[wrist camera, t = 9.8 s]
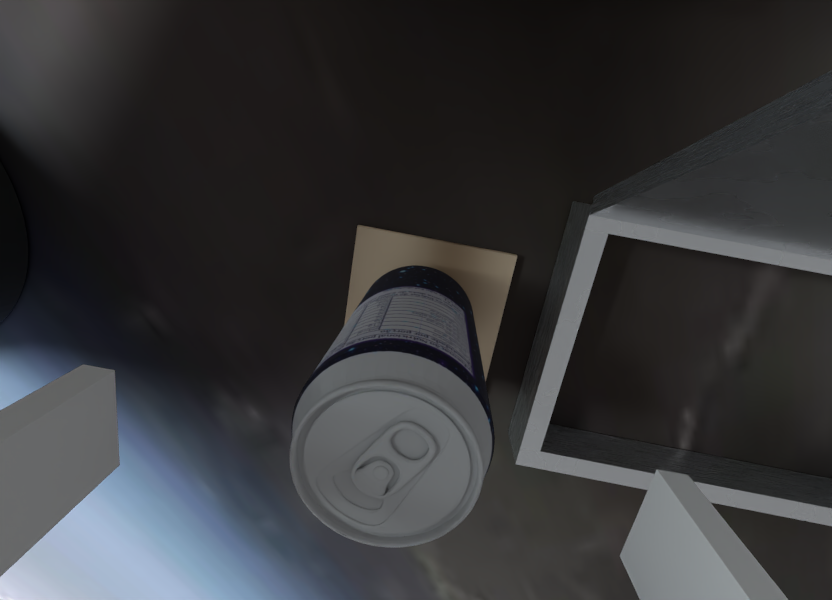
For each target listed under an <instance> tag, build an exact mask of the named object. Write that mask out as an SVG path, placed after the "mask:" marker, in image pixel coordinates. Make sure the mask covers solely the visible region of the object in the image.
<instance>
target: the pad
mask: <svg viewBox="0 0 832 600" xmlns="http://www.w3.org/2000/svg"><path fill="white" fill-rule="evenodd" d="M516 260H517V255H516V254H512V253H506V252H501V251H496V250H490V249H485V248H480V247H474V246H469V245H464V244H458V243H453V242H448V241H443V240H437V239H432V238H427V237H421V236H416V235H411V234H405V233H400V232H395V231H389V230H384V229H379V228H373V227H368V226H363V225H358V226H357V233H356V241H355V248H354V256H353V263H352V271H351V278H350V286H349V293H348V301H347V308H346V316H345V323H344V326H345V324H346V323H347V321H348V320H349V318H350V317H351V315H352V314H353V312H354V311H355V309H356V308H357V306H358V305H359V303H360V302H361V300H362V299H363V297H364V296H365V294H366V293H367V291H368V290H369V288H370V287H371V286H372V285H373V283H374V282H375V281H376V280H378V279H379V278H380V277H381V276H383V275H384V274H386V273H387V272H389V271H391V270H394V269H397V268H400V267H404V266H412V265H418V266H427V267H431V268H434V269H437V270H440V271H442V272H444V273H446V274H447V275H449V276H450V277H452V278H453V279H454V280H455V281H456V282H457V283H458V284H459V285H460V286H461V287H462V288H463V290H464V291H465V293H466V294H467V296H468V298H469V300H470V303H471V306H472V310H473V315H474V321H475V326H476V332H477V337H478V343H479V348H480V354H481V360H482V365H483V371H484V376H485V382H486V378H487V374H488V371H489V367H490V363H491V359H492V355H493V351H494V347H495V343H496V339H497V335H498V331H499V327H500V323H501V319H502V315H503V311H504V307H505V303H506V299H507V295H508V291H509V287H510V283H511V279H512V275H513V272H514V268H515V264H516Z"/></svg>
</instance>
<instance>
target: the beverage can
mask: <svg viewBox="0 0 832 600" xmlns="http://www.w3.org/2000/svg"><path fill="white" fill-rule="evenodd" d="M494 439H495V438H494V427H493V421H492V416H491V410H490V404H489V399H488V393H487V388H486V382H485V376H484V371H483V365H482V360H481V354H480V348H479V343H478V337H477V332H476V326H475V321H474V315H473V310H472V306H471V303H470V300H469V298H468V296H467V294H466V293H465V291H464V290H463V288H462V287H461V286H460V285H459V284H458V283H457V282H456V281H455V280H454V279H453V278H452V277H450V276H449V275H447V274H446V273H444V272H442V271H440V270H437V269H434V268H431V267H427V266H418V265H412V266H404V267H400V268H397V269H394V270H391V271H389V272H387V273H386V274H384V275H383V276H381V277H380V278H379V279H378V280H376V281H375V282H374V283H373V285H372V286H371V287H370V288H369V290H368V291H367V293H366V294H365V296H364V297H363V299H362V300H361V302H360V303H359V305H358V306H357V308H356V309H355V311H354V312H353V314H352V315H351V317H350V318H349V320H348V321H347V323H346V324H345V326H344V327H343V329H342V330H341V332H340V333H339V335H338V336H337V338H336V339H335V341H334V342H333V344H332V345H331V347H330V348H329V350H328V351H327V353H326V354H325V356H324V357H323V359H322V360H321V362H320V363H319V365H318V366H317V368H316V369H315V371H314V372H313V374H312V375H311V377H310V378H309V380H308V381H307V383H306V384H305V386H304V387H303V389H302V391H301V392H300V394H299V396H298V399H297V401H296V404H295V407H294V411H293V417H292V442H291V447H290V470H291V475H292V479H293V482H294V485H295V487H296V490H297V492H298V494H299V495H300V497H301V499H302V500H303V502H304V504H305V505H306V506H307V507H308V509H309V510H310V511H311V512H312V513H313V514H314V515H315V516H316V517H317V518H318V519H319V520H320V521H321V522H322V523H323V524H325V525H326V526H328V527H329V528H331V529H332V530H334V531H335V532H337V533H339V534H341V535H343V536H345V537H347V538H349V539H352V540H355V541H357V542H360V543H364V544H368V545H372V546H379V547H389V548H390V547H408V546H415V545H419V544H423V543H426V542H430V541H432V540H434V539H437V538H439V537H441V536H443V535H445V534H446V533H448V532H449V531H451V530H453V529H454V528H455V527H456V526H457V525H459V524H460V523H461V522H462V521H463V520H464V519H465V518H466V516H467V515H468V514H469V513H470V511H471V510H472V509H473V507H474V505H475V503H476V501H477V499H478V497H479V494H480V491H481V488H482V483H483V479H484V477H485V475H486V473H487V471H488V469H489V466H490V463H491V460H492V456H493V452H494Z"/></svg>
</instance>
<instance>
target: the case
mask: <svg viewBox="0 0 832 600" xmlns="http://www.w3.org/2000/svg"><path fill="white" fill-rule="evenodd" d="M608 234H612V235H618V236H623V237H629V238H634V239H639V240H645V241H650V242H655V243H661V244H666V245H671V246H677V247H682V248H688V249H693V250H698V251H704V252H709V253H714V254H720V255H725V256H730V257H736V258H741V259H747V260H752V261H757V262H763V263H768V264H773V265H779V266H784V267H790V268H795V269H800V270H806V271H811V272H816V273H822V274H827V275H832V70H831V71H829V72H827V73H825V74H823V75H821V76H820V77H818V78H816V79H814V80H812V81H810V82H808V83H806V84H804V85H803V86H801V87H799V88H797V89H795V90H793V91H791V92H789V93H787V94H786V95H784V96H782V97H780V98H778V99H776V100H774V101H772V102H770V103H769V104H767V105H765V106H763V107H761V108H759V109H757V110H755V111H753V112H752V113H750V114H748V115H746V116H744V117H742V118H740V119H738V120H736V121H735V122H733V123H731V124H729V125H727V126H725V127H723V128H721V129H719V130H718V131H716V132H714V133H712V134H710V135H708V136H706V137H704V138H702V139H701V140H699V141H697V142H695V143H693V144H691V145H689V146H687V147H685V148H684V149H682V150H680V151H678V152H676V153H674V154H672V155H670V156H669V157H667V158H665V159H663V160H661V161H659V162H657V163H655V164H653V165H652V166H650V167H648V168H646V169H644V170H642V171H640V172H638V173H636V174H635V175H633V176H631V177H629V178H627V179H625V180H623V181H621V182H619V183H618V184H616V185H614V186H612V187H610V188H608V189H606V190H604V191H602V192H601V193H599V194H597V195H595V196H594V198H593V203H592V205H591V204H586V203H581V202H575V201H573V202H572V206H571V209H570V213H569V217H568V220H567V224H566V227H565V231H564V234H563V238H562V241H561V245H560V249H559V252H558V256H557V259H556V263H555V266H554V270H553V273H552V277H551V281H550V284H549V288H548V291H547V295H546V298H545V302H544V305H543V309H542V312H541V316H540V320H539V323H538V327H537V330H536V334H535V337H534V341H533V344H532V348H531V352H530V355H529V359H528V362H527V366H526V369H525V373H524V376H523V380H522V384H521V387H520V391H519V394H518V398H517V401H516V405H515V408H514V412H513V415H512V419H511V423H510V426H509V430H508V434H509V438H510V443H511V447H512V451H513V455H514V460H515V464H518V465H523V466H528V467H533V468H538V469H543V470H548V471H553V472H558V473H563V474H568V475H574V476H579V477H584V478H589V479H594V480H599V481H604V482H609V483H614V484H619V485H625V486H630V487H635V488H640V489H645V490H648V489H649V486H650V484H651V482H652V479H653V477H654V475H655V472H656V470H657V469H658V470H663V471H669V472H674V473H680V474H685V475H689V477H690V478H691V479H692V480H693V482H694V483H695V484H696V485H697V487H698V488H699V489H700V490H701V492H702V493H703V494H704V495H705V497H706V498H707V499H708V500H709V501H710V502H711V503H716V504H721V505H726V506H731V507H737V508H742V509H747V510H752V511H757V512H762V513H767V514H772V515H777V516H782V517H787V518H793V519H798V520H803V521H808V522H813V523H818V524H823V525H828V526H832V479H831V478H826V477H820V476H815V475H810V474H805V473H800V472H795V471H790V470H784V469H779V468H774V467H769V466H764V465H759V464H754V463H748V462H743V461H738V460H733V459H728V458H723V457H718V456H712V455H707V454H702V453H697V452H692V451H687V450H682V449H676V448H671V447H666V446H661V445H656V444H651V443H646V442H640V441H635V440H630V439H625V438H620V437H615V436H610V435H604V434H599V433H594V432H589V431H584V430H579V429H574V428H568V427H563V426H558V425H553V424H549V422H550V419H551V415H552V412H553V409H554V406H555V403H556V399H557V396H558V393H559V390H560V387H561V383H562V380H563V377H564V374H565V371H566V368H567V364H568V361H569V358H570V355H571V352H572V348H573V345H574V342H575V339H576V336H577V332H578V329H579V326H580V323H581V320H582V316H583V313H584V310H585V307H586V304H587V300H588V297H589V294H590V291H591V288H592V285H593V281H594V278H595V275H596V272H597V269H598V265H599V262H600V259H601V256H602V253H603V249H604V246H605V243H606V240H607V237H608Z"/></svg>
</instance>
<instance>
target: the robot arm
mask: <svg viewBox="0 0 832 600" xmlns="http://www.w3.org/2000/svg"><path fill="white" fill-rule="evenodd" d="M27 265H28V240H27V233H26V226H25V222H24V217H23V214H22V210H21V206H20V204H19V201H18V198H17V195H16V193H15V190H14V188H13V185H12V183H11V181H10V179H9V177H8V175H7V173H6V171H5V169H4V168H3V166H2V164H1V162H0V323H1V322H2V321H3V320H4V319H5V318H6V317H7V316H8V314H9V313H10V312H11V310H12V309H13V307H14V306H15V304H16V303H17V301H18V298H19V296H20V294H21V291H22V289H23V286H24V282H25V278H26V273H27ZM119 465H120V462H119V443H118V424H117V404H116V385H115V370H111V369H105V368H100V367H94V366H89V365H81V366H79V367H77V368H76V369H74V370H72V371H70V372H69V373H67V374H65V375H63V376H61V377H60V378H58V379H56V380H54V381H52V382H51V383H49V384H47V385H45V386H43V387H42V388H40V389H38V390H36V391H35V392H33V393H31V394H29V395H27V396H26V397H24V398H22V399H20V400H18V401H17V402H15V403H13V404H11V405H9V406H8V407H6V408H4V409H2V410H1V411H0V577H1V576H2V575H3V574H4V573H5V572H6V571H7V570H8V569H9V568H10V567H11V566H12V565H13V564H14V563H15V562H17V561H18V560H19V559H20V558H21V557H22V556H23V555H24V554H25V553H26V552H27V551H28V550H29V549H30V548H32V547H33V546H34V545H35V544H36V543H37V542H38V541H39V540H40V539H41V538H42V537H43V536H44V535H45V534H46V533H48V532H49V531H50V530H51V529H52V528H53V527H54V526H55V525H56V524H57V523H58V522H59V521H60V520H61V519H62V518H64V517H65V516H66V515H67V514H68V513H69V512H70V511H71V510H72V509H73V508H74V507H75V506H76V505H77V504H78V503H80V502H81V501H82V500H83V499H84V498H85V497H86V496H87V495H88V494H89V493H90V492H91V491H92V490H93V489H94V488H96V487H97V486H98V485H99V484H100V483H101V482H102V481H103V480H104V479H105V478H106V477H107V476H108V475H109V474H110V473H112V472H113V471H114V470H115V469H116V468H117V467H118V466H119ZM620 558H621V560H622V562H623V564H624V566H625V568H626V571H627V573H628V575H629V577H630V579H631V581H632V584H633V586H634V588H635V590H636V592H637V594H638V597H639V599H640V600H788V599H787V597H786V596H785V595H784V594H783V592H782V591H781V590H780V589H779V587H778V586H777V585H776V584H775V582H774V581H773V580H772V579H771V577H770V576H769V575H768V574H767V572H766V571H765V570H764V569H763V567H762V566H761V565H760V564H759V562H758V561H757V560H756V559H755V557H754V556H753V555H752V554H751V552H750V551H749V550H748V549H747V548H746V546H745V545H744V544H743V543H742V541H741V540H740V539H739V538H738V536H737V535H736V534H735V533H734V531H733V530H732V529H731V528H730V526H729V525H728V524H727V523H726V521H725V520H724V519H723V518H722V516H721V515H720V514H719V513H718V511H717V510H716V509H715V508H714V506H713V505H712V504H711V503H710V501H709V500H708V499H707V498H706V497H705V495H704V494H703V493H702V492H701V490H700V489H699V488H698V487H697V485H696V484H695V483H694V482H693V480H692V479H691V478H690V477H689V475H685V474H680V473H674V472H669V471H663V470H658V469H657V470H656V472H655V475H654V477H653V479H652V482H651V484H650V486H649V489H648V491H647V493H646V496H645V498H644V500H643V503H642V505H641V507H640V510H639V512H638V514H637V517H636V519H635V521H634V524H633V526H632V528H631V531H630V533H629V535H628V538H627V540H626V542H625V545H624V547H623V549H622V552H621V554H620Z"/></svg>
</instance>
